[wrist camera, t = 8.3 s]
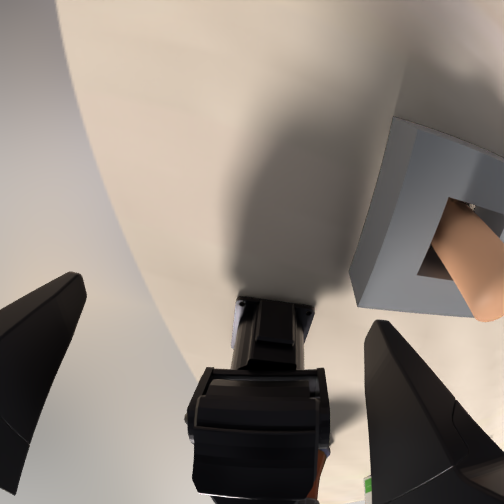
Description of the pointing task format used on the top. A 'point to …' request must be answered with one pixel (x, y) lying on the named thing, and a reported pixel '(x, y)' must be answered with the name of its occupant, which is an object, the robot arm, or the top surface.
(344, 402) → the top surface
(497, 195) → the socket block
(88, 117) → the top surface
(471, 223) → the peg
